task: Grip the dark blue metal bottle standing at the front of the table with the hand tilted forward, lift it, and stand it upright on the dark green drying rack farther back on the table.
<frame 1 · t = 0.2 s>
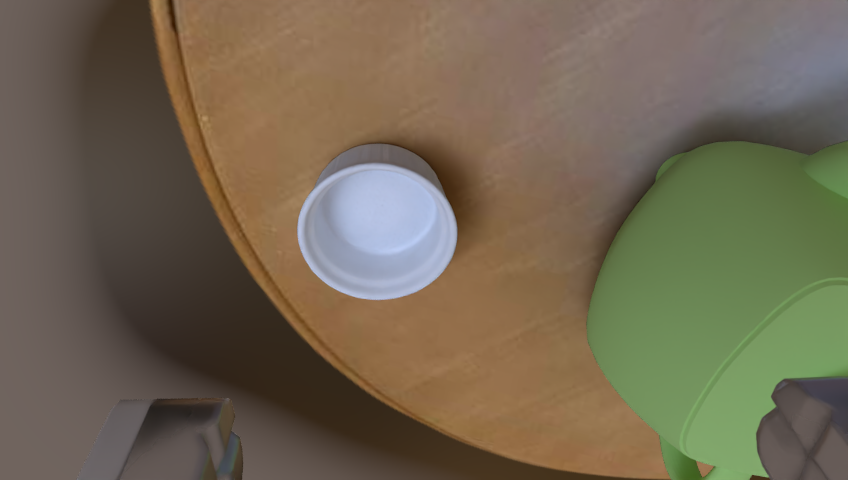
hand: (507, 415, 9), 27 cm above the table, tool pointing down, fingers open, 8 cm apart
ramekin: (379, 199, 38), on the table
teapot: (748, 231, 41), on the table
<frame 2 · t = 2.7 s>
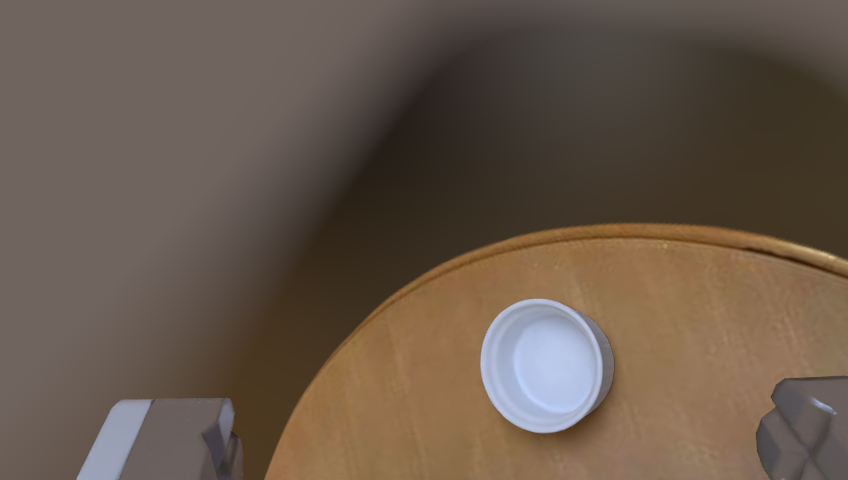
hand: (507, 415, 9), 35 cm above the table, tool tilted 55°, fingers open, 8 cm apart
ramekin: (563, 361, 45), on the table
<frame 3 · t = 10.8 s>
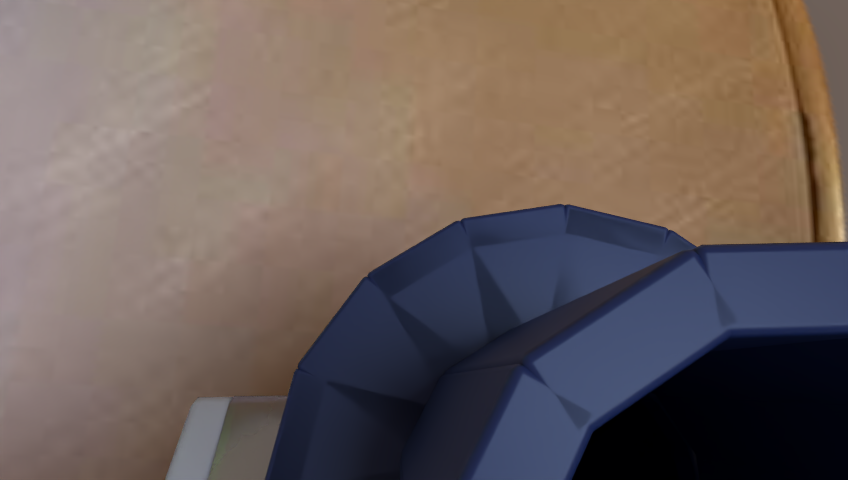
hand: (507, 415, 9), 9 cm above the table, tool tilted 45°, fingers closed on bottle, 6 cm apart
bottle: (455, 422, 18), on the table, touching gripper
when the fingers open (10 cm above the table, at t = 23.0 s): bottle stays where it is, resting on rack.
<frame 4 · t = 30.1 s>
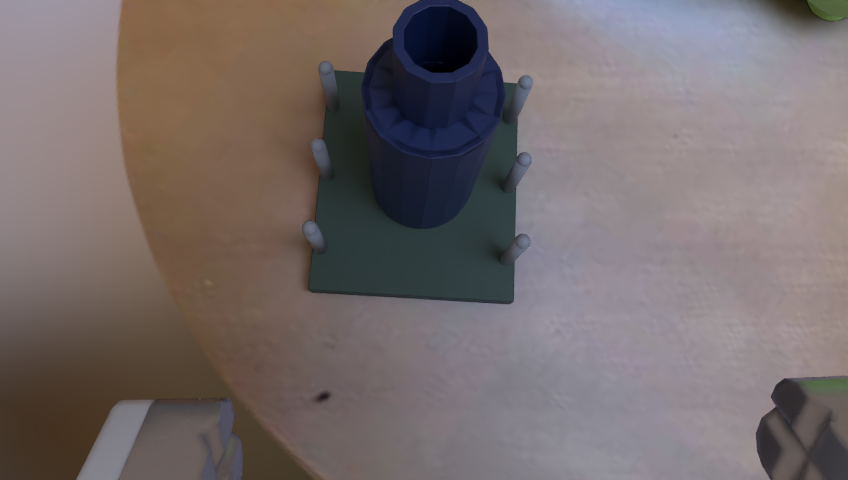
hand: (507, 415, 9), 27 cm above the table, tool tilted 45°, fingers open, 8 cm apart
rack: (417, 187, 39), on the table
bottle: (421, 181, 37), point 1 cm above the table, touching rack
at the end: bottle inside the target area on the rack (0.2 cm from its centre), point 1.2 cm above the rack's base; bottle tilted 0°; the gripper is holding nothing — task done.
